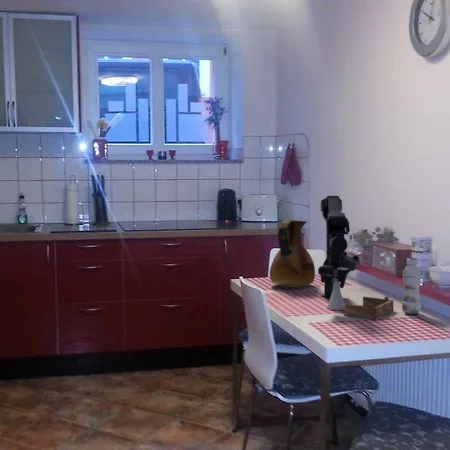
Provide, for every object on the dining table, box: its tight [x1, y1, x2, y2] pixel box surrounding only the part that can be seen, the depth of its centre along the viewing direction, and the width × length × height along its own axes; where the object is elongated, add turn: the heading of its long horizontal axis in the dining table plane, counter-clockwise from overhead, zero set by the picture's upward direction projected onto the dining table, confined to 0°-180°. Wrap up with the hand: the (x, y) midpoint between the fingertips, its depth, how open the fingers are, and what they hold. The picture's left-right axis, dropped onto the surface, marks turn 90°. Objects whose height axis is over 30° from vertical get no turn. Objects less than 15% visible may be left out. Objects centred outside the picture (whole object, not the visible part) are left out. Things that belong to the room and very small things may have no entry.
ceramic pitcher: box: [269, 218, 316, 289], centre depth 278 cm, size 20×20×30 cm
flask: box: [326, 282, 346, 311], centre depth 236 cm, size 7×7×10 cm
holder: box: [343, 296, 395, 321], centre depth 229 cm, size 16×12×5 cm
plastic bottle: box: [401, 257, 422, 315], centre depth 226 cm, size 6×7×20 cm
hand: (336, 290), depth 236 cm, fingers open, 9 cm apart
